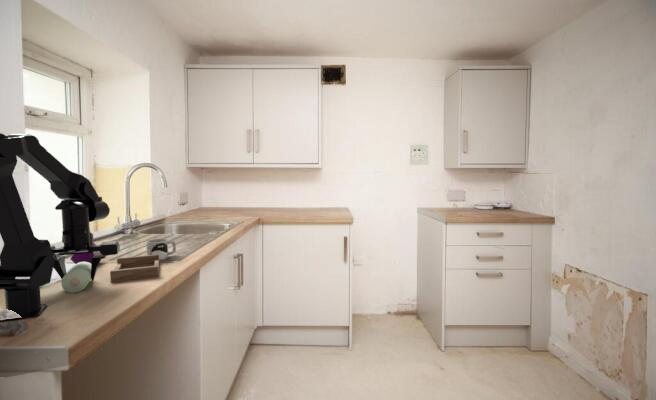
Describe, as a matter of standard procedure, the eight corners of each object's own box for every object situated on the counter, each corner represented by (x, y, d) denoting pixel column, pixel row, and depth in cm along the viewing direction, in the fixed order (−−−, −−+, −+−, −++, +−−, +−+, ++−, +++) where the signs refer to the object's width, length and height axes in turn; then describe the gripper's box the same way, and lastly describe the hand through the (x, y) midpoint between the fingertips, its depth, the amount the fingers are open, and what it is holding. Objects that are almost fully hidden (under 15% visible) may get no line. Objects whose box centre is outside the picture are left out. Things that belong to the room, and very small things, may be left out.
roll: (88, 290, 88) (87, 270, 88) (61, 294, 86) (60, 272, 85) (95, 279, 97) (94, 260, 97) (71, 282, 95) (70, 262, 94)
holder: (158, 276, 100) (157, 266, 100) (110, 281, 95) (110, 271, 95) (159, 262, 115) (158, 254, 115) (117, 266, 110) (117, 257, 109)
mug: (152, 262, 116) (151, 243, 115) (143, 259, 120) (143, 240, 119) (180, 256, 123) (179, 238, 123) (171, 253, 128) (171, 236, 127)
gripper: (120, 218, 101) (123, 269, 103) (41, 222, 93) (45, 277, 94) (115, 224, 91) (118, 280, 93) (26, 229, 83) (31, 290, 84)
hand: (79, 281), depth 91 cm, fingers closed on roll, 6 cm apart
